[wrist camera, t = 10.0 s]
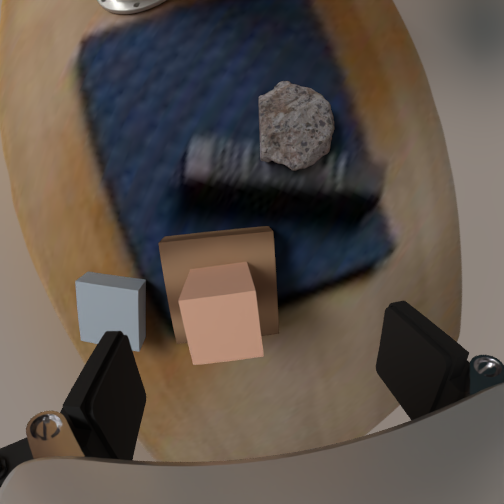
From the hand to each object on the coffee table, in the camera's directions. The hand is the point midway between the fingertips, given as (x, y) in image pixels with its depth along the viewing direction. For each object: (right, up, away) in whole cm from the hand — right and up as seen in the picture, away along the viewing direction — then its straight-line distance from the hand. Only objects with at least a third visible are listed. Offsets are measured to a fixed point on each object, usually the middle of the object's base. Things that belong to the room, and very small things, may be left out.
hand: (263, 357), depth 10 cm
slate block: (-18, -3, +25) cm, 31 cm away
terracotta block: (-4, -1, +22) cm, 23 cm away
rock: (+4, +18, +23) cm, 29 cm away
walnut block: (-4, 0, +26) cm, 26 cm away
